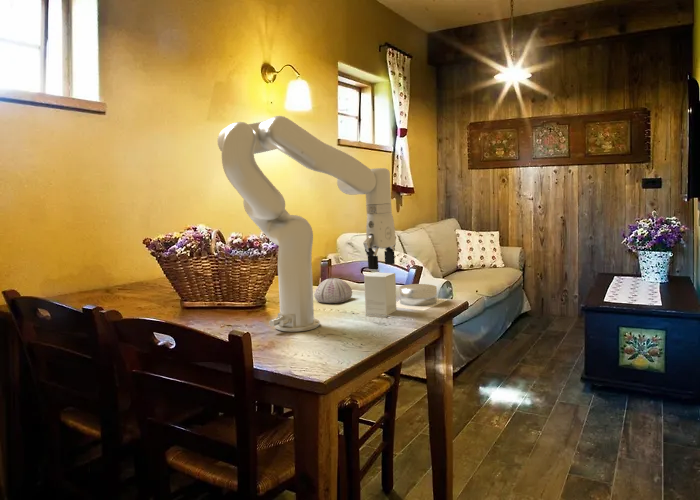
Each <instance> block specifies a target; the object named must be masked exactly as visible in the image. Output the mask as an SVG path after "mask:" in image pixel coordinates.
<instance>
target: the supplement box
mask: <svg viewBox="0 0 700 500" xmlns="http://www.w3.org/2000/svg"><path fill="white" fill-rule="evenodd" d="M363 277H364V281H363V282H364V299H365V301H364V302H365V303H364V305H365V317H368V318H369V317H371V318H382V319H388V318H390V317H391V316H389V315H390V314H392V313H395V312H396V311H397V309H398V308H396V302H397V284H396V283H397V281H396V273H395V272H372V273H369V274H365V275H364V276H363Z"/></svg>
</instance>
